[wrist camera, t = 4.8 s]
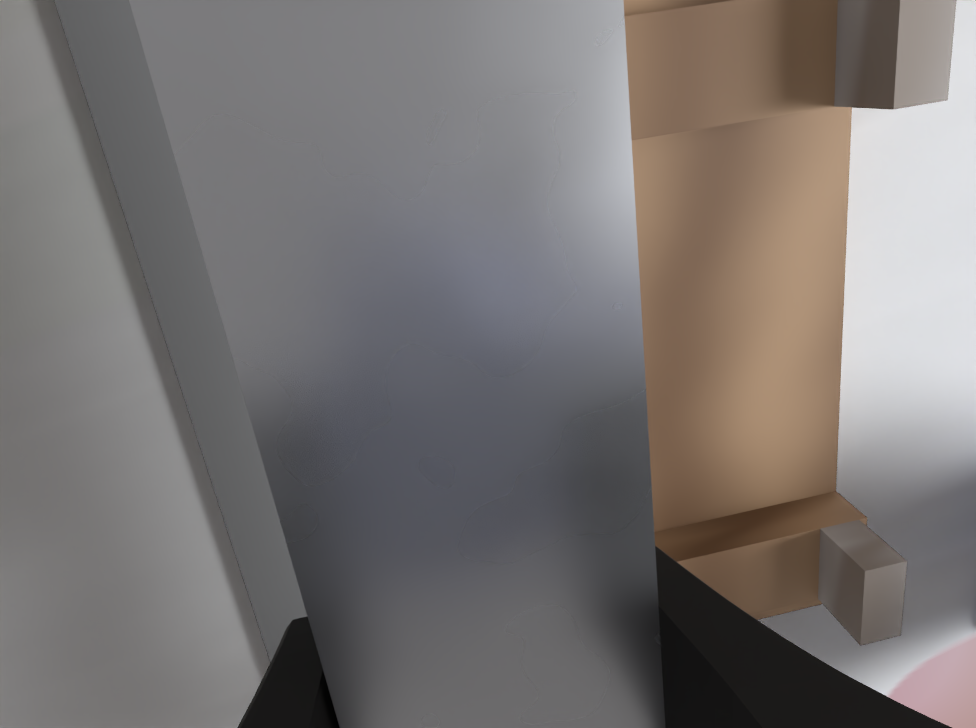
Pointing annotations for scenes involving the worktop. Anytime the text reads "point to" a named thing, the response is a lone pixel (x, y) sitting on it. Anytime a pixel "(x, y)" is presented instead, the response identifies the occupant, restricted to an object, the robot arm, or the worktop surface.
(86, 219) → the worktop surface
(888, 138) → the worktop surface
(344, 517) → the rail
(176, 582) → the worktop surface
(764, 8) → the rail stand
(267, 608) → the mat
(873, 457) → the worktop surface
